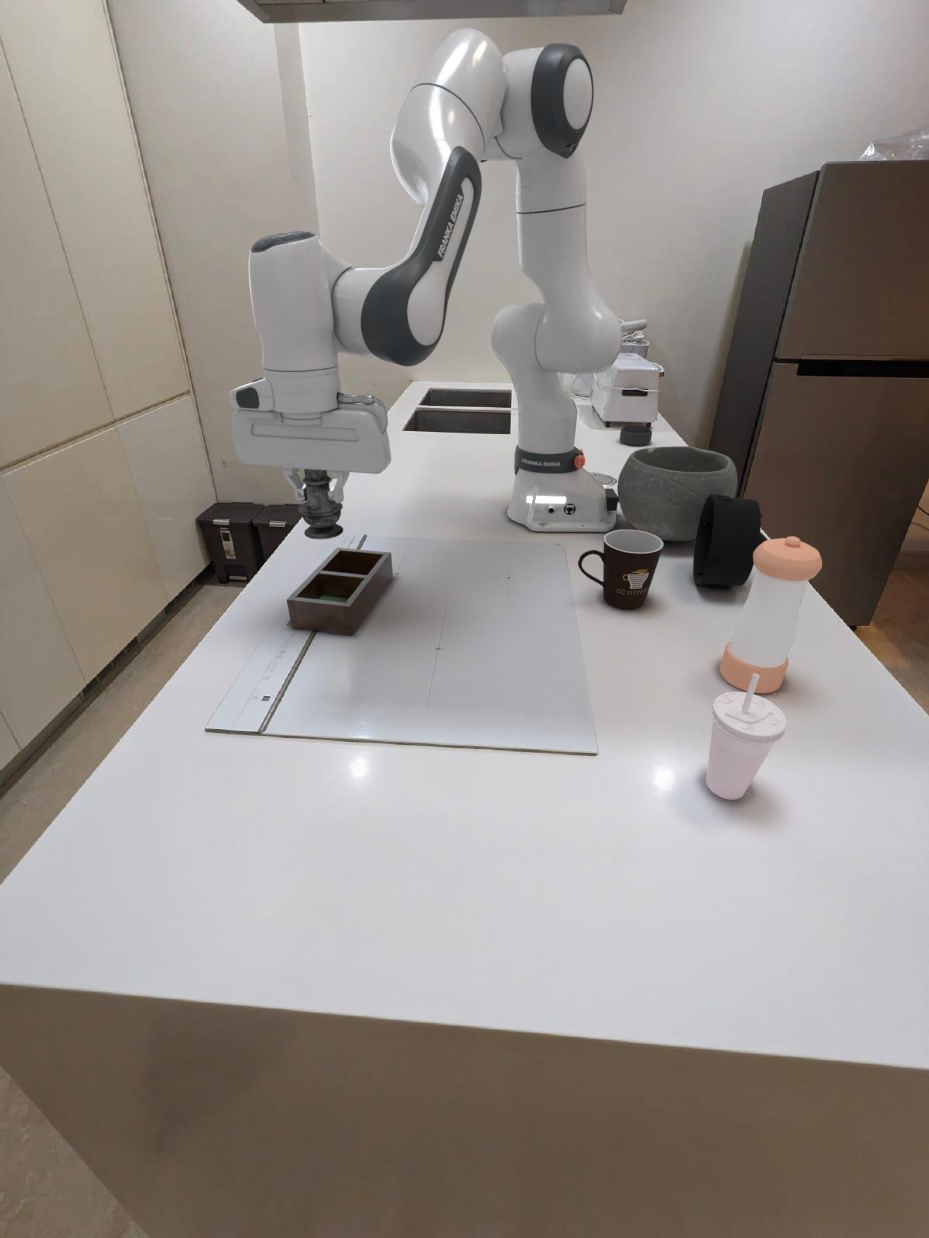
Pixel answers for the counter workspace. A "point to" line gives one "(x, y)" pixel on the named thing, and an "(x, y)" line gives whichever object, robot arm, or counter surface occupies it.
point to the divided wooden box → (341, 591)
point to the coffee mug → (627, 567)
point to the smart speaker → (635, 435)
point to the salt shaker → (320, 507)
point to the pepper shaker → (770, 614)
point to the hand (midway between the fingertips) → (319, 500)
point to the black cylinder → (726, 541)
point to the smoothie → (741, 739)
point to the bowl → (672, 488)
